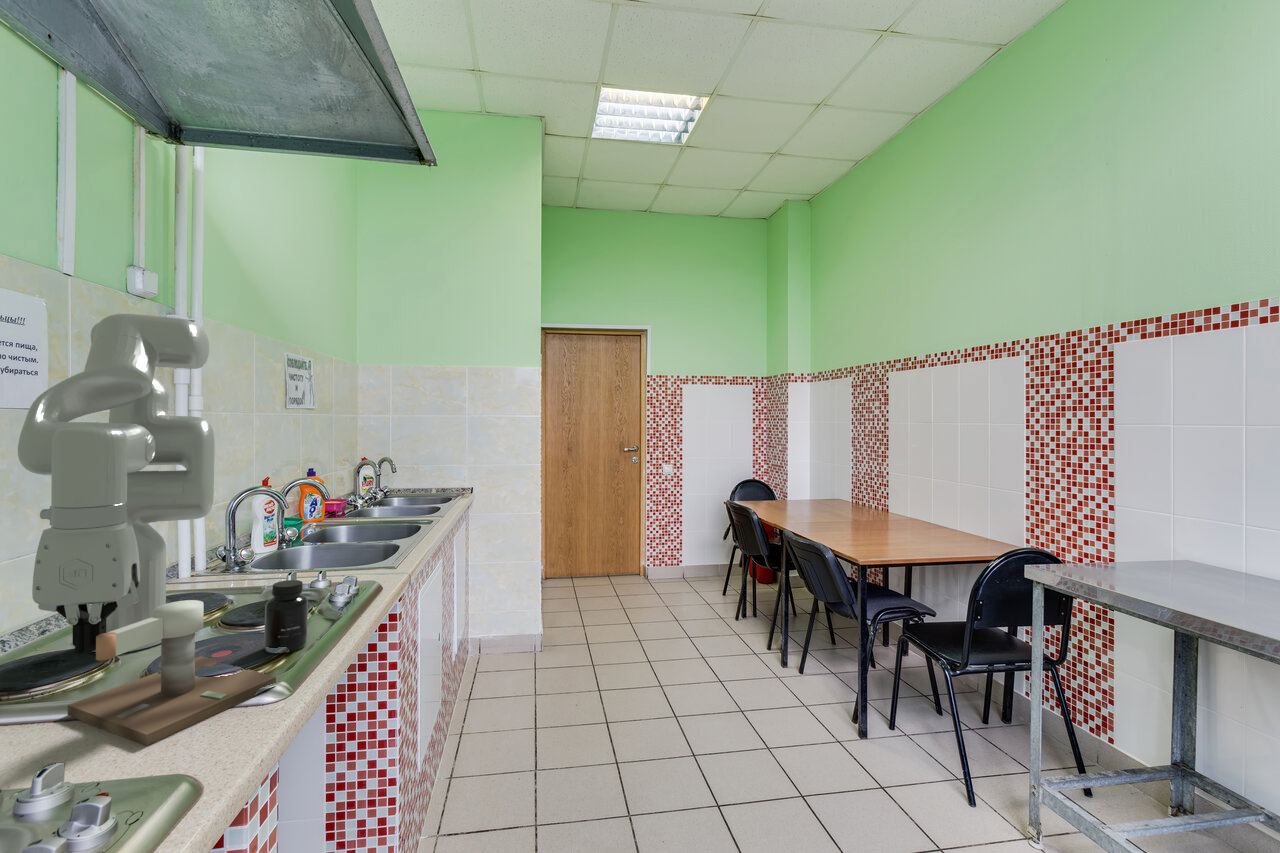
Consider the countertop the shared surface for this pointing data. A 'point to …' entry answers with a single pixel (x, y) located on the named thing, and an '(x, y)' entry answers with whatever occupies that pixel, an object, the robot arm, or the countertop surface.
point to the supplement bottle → (286, 616)
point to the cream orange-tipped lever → (152, 628)
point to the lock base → (168, 696)
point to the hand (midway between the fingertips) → (89, 649)
